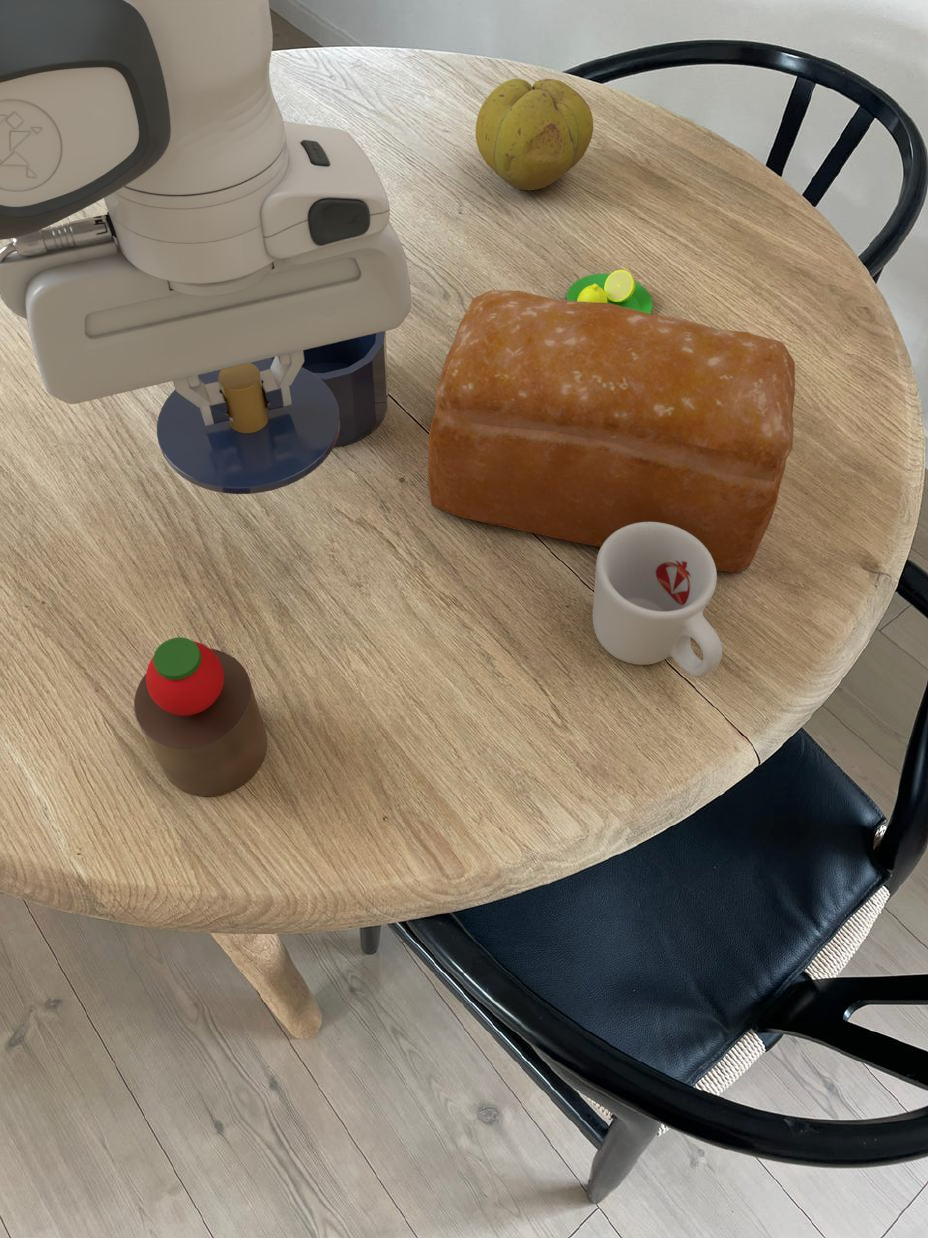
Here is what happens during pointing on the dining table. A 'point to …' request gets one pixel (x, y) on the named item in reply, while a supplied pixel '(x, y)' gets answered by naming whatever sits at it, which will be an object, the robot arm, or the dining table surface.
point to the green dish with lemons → (612, 291)
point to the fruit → (533, 131)
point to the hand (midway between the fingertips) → (246, 408)
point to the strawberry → (184, 677)
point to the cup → (655, 597)
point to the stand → (208, 736)
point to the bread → (610, 423)
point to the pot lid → (250, 433)
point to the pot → (354, 382)
